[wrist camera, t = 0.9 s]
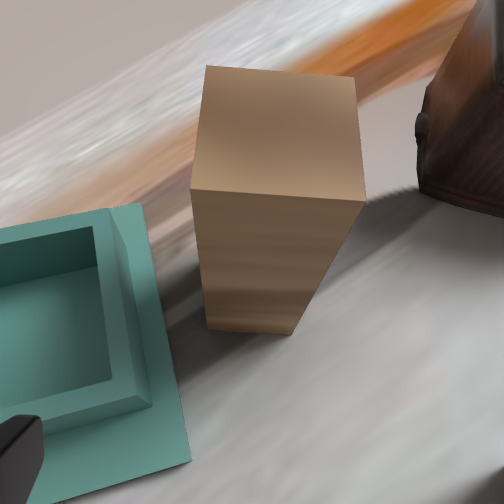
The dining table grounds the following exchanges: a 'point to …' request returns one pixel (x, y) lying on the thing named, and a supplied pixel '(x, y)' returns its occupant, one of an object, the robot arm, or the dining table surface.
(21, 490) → the robot arm
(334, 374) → the dining table surface
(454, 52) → the dark brown wooden block
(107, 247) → the well
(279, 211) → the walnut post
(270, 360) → the dining table surface
